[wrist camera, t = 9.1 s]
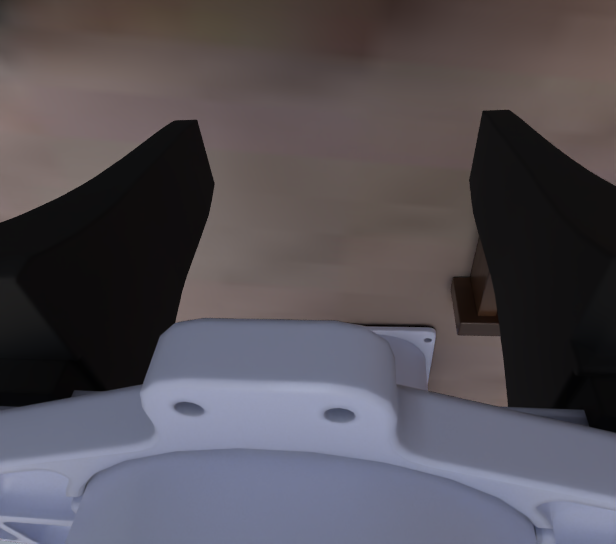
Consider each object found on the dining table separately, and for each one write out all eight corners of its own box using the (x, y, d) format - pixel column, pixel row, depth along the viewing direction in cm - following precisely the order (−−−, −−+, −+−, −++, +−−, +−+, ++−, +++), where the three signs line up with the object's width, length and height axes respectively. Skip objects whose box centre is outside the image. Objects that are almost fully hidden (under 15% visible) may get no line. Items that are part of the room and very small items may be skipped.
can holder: (641, 291, 29) (665, 339, 26) (450, 289, 30) (456, 336, 28) (712, 177, 23) (752, 226, 20) (470, 181, 24) (481, 228, 22)
